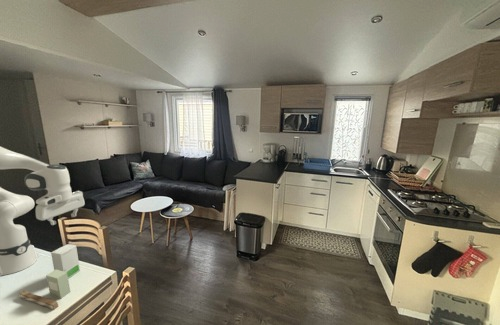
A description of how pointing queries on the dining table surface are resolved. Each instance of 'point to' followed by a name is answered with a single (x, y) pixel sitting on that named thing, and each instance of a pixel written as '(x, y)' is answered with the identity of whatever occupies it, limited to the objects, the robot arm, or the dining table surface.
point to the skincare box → (66, 259)
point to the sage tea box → (58, 283)
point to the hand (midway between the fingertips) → (64, 220)
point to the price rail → (39, 300)
